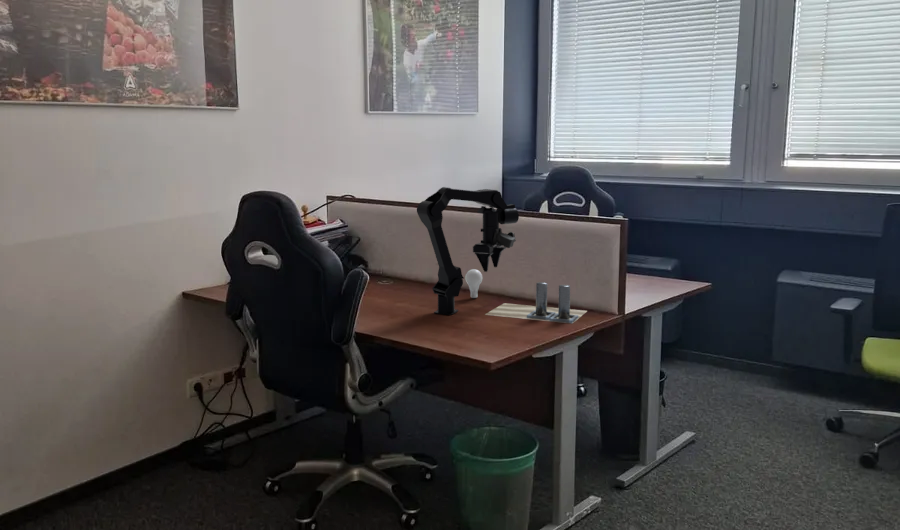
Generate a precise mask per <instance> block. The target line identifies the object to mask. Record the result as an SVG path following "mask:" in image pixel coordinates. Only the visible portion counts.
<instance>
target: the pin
mask: <svg viewBox="0 0 900 530" xmlns="http://www.w3.org/2000/svg"><path fill="white" fill-rule="evenodd" d="M535 283H536V288H535V306H536V316H546V317H547V307H548V286H549V285H548V282H545V281H540V282H539V281H538V282H535Z"/></svg>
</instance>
